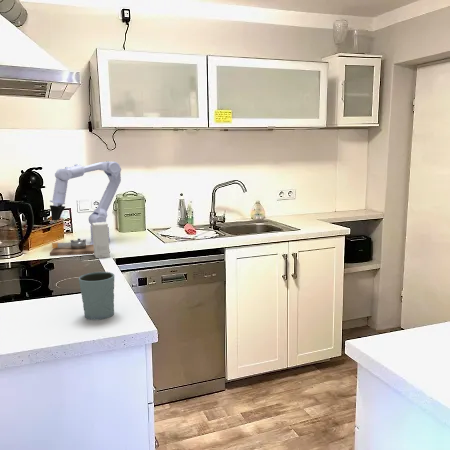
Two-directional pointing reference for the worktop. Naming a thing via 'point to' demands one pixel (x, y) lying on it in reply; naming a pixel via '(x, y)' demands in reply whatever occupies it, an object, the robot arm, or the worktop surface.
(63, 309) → the worktop surface
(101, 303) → the grey-green cup
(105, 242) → the skincare box
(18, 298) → the worktop surface
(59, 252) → the walnut board
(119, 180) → the robot arm
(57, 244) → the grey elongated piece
